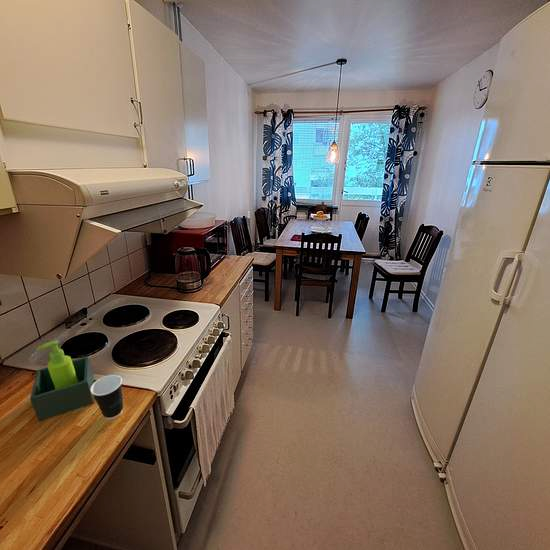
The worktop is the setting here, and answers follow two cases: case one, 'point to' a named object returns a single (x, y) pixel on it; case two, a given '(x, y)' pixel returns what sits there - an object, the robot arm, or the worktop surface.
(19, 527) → the worktop surface
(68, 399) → the bin
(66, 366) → the soap dispenser
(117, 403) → the dixie cup
